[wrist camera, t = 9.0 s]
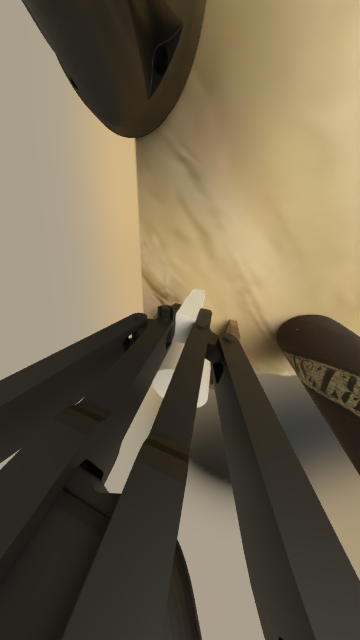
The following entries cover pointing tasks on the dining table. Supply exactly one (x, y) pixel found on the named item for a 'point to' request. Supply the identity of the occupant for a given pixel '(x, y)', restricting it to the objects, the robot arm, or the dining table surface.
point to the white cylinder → (168, 369)
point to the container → (328, 373)
